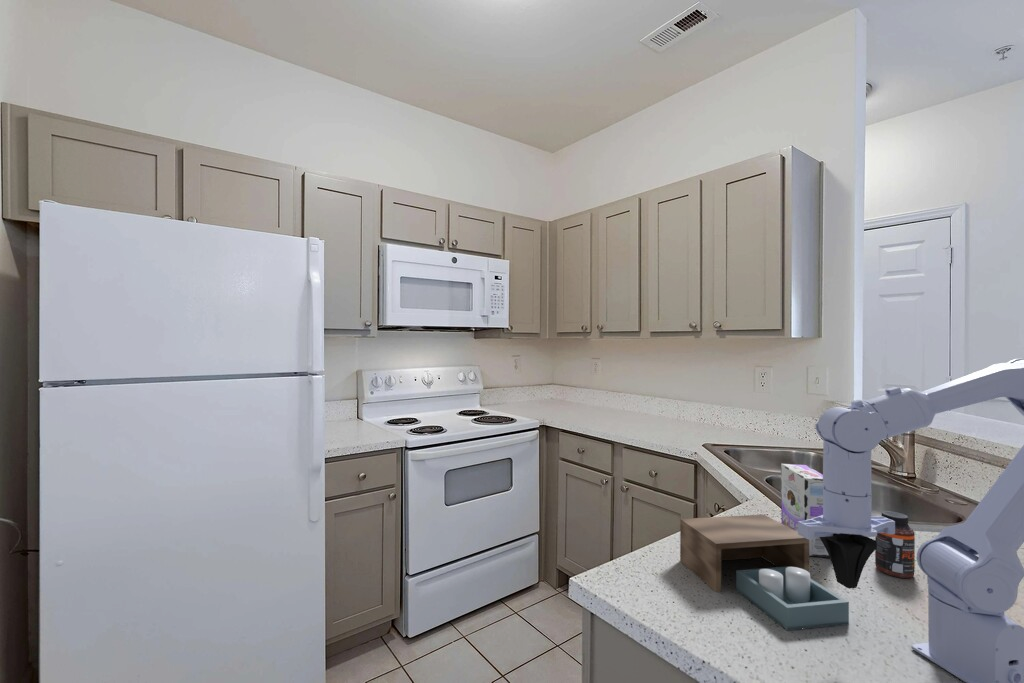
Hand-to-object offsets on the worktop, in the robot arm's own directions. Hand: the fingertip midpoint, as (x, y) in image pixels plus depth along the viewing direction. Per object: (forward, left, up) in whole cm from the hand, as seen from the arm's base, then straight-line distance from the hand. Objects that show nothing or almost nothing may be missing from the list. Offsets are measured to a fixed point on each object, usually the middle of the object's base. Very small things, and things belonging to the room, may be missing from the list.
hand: (846, 584), depth 66 cm
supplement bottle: (+18, -30, -9) cm, 37 cm away
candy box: (+32, -23, -9) cm, 41 cm away
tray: (+11, 0, -9) cm, 14 cm away
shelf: (+23, 0, -9) cm, 25 cm away
